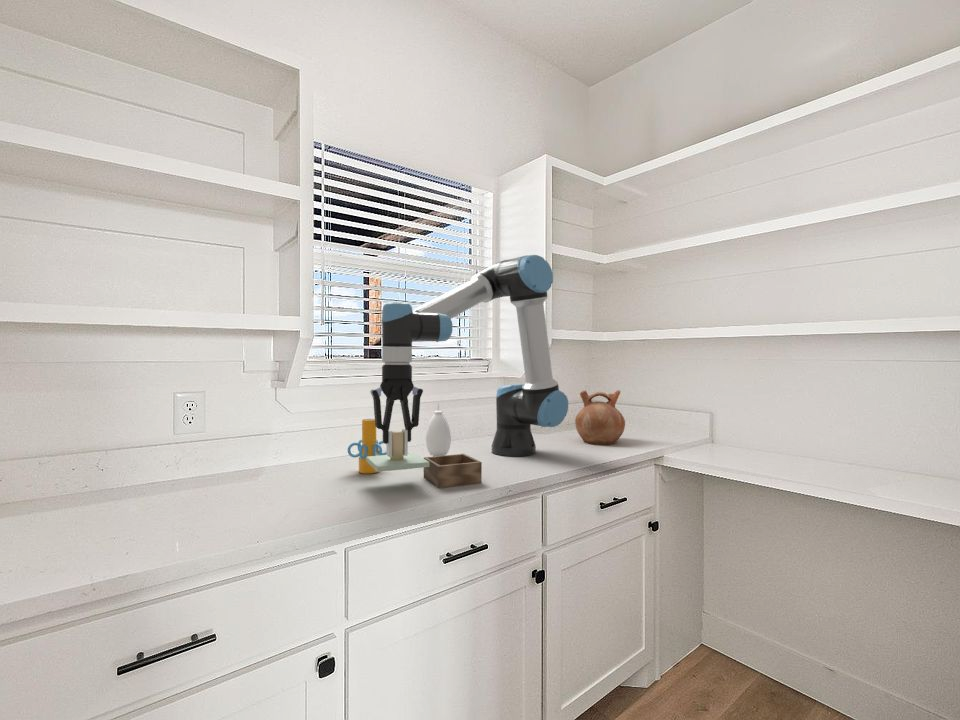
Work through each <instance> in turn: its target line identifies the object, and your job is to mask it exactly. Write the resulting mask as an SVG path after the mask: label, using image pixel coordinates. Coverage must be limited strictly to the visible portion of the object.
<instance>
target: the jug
mask: <svg viewBox="0 0 960 720" xmlns="http://www.w3.org/2000/svg"><path fill="white" fill-rule="evenodd" d="M620 394H621V390H619V389H617V390H616V391H615V392H614V393H608V394H607V393H606V392H602V391H596V392H594V393H592V394H590V395H589V394H588V392H587V390H581V392H580V393H579V395H580V398H581V400H582V403H583V407H582V408H581V409H580V411H579V412H578V413H577V415H576V417H575V421H574V423H575V429H576V431H577V433H578V435H579V436H580V438H581V439H582V441H583V442H584V443H585V444H589V445H597V446H610V445H614V444H616V443H617V442H618V440H619V439H620V438H621V437H622V435H623V434H624V431H625V427H626V420H625V418H624V416H623V414H622V412H620V410H618V408H617V407H616V404H617V401H618V399H619V397H620ZM599 396H600V397H602V398H605V399H607V401H605V402H604V401H593V399H594V398H596V397H599Z"/></svg>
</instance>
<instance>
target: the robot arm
mask: <svg viewBox="0 0 960 720" xmlns="http://www.w3.org/2000/svg"><path fill="white" fill-rule="evenodd" d="M553 283H554V274H553V270H552V268H551V265H550V263H549V262H548V261H547V260H546V259H545V258H544V257H543V256H540V255H538V254H530V255H522V256H519V257H515V258H510V259H504V260H501V261H498V262H496V263H494V264H493V265H490V266H489V267H487V268H485V269H483V270H482V271H479V272H478V273H476V274H475V275H473V276H472V277H471V279H470V281H468V282H466V283H464V284H462V285H460V286H458V287H456V288H454V289H452V290H450V291H448V292H445V293H444V294H442V295H440V296H438V297H436V298H434V299H432V300H431V301H428V302H427V303H424V304H422V305H420V306H418V307H417V308H415V309H413V306H412V304H411V303H408V302H407V303H406V302H389V303H388V302H387V303H385V304H384V305H383V307H382V311H381V313H382V314H381V327H382V329H381V332H382V334H381V335H382V336H381V337H382V339H381V340H382V341H381V345H382V346H381V347H382V353H381V360H382V362H383V363H384V364H383V365H382V367H381V383H380V385H379V387H377V388H375V389H371V390H370V394H371V397H372V401H373V413H374V415H373V416H374V419H375V427H376V429H378V430H381V431H382V441H383V444H384V445H385V444H386V448H385V449H386V451H385V452H386V455H387V456H388V457H392V430H391V429H390V426H391V420H392V415H393V408H394V404H395V402H396V401H399V403H400V407H401V413H402V419H403V424H404V428H401V431H403V432H404V456H408V453H409V451H408V447H409V446H408V445H409V444H408V443H410V442H411V441H412V430H413V429H414V428H415V427H416V428H418V426H419V425H420V424H419V421H420V410H421V409H420V408H421V397H422V395H423V393H424V390H423V389H422V388H418V387H416V386H414V385H415V384H414V383H413V366H412V364H410V363H412V362H413V345H412V344H413V342H415V343H416V342H422V343H423V342H437V343H439V342H447V341H448V340H449V339H450V338H451V337H452V335H453V325H454V324H453V322H452V319H453V318H454V317H457V316H458V315H461V314H463V313H464V312H466V311H468V310H470V309H471V308H473V307H475V306H477V305H478V304H481V303H489V302H491V301H493V300H495V299H498V298H499V299H500V298H504V297H509V301H510V304H512V305H513V306H514V307H515V309H516V314H517V323H518V332H519V337H520V338H519V339H520V346H521V356H522V361H523V370H524V377H525V382H524V383H523V384H522V383H521V384H511V385H509V384H508V385H501V386H499V387H498V388H497V390H496V397H495V399H496V402H495V403H496V404H495V405H496V407H495V408H496V430H495V434H494V436H493V441H492V443H491V453H492V454H494V455H498V456H503V457H504V456H505V457H509V456H510V457H523V456H524V457H525V456H526V457H527V456H531V455H534V454H536V451H537V450H536V449H537V448H536V447H537V446H536V443H535V440H534V436H533V434H532V429H531V426H532V425H533V426H539V427H541V428H555V427H557V426H559V425H560V424H562V423H563V421H564V420H565V418H566V417H567V415H568V411H569V399H568V396H567V395H566V394H565V392H563V391H561V390H560V388H559V386H560V385H559V382H558V381H557V380H556V379H554V377H553V371H552V362H551V353H550V347H549V339H548V337H549V336H548V331H547V330H548V329H547V321H546V314H545V306H544V303H545V302H546V300H547V299H548V291H549V290H550V289H551V288H552V284H553ZM411 392H412V395H413V397H412V406H411V407H412V408H411V409H412V410H411V414H410V408H409V399H408V397H409V395H410V394H411ZM382 393H383V395H384V396H385V397H386V400H385V408H384V415H383V420H382V407H381V402H382V401H381V398H380V397H382Z"/></svg>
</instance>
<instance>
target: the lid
mask: <svg viewBox="0 0 960 720" xmlns="http://www.w3.org/2000/svg"><path fill="white" fill-rule="evenodd" d="M391 431H392V430H391ZM366 462H368V463H369V464H370V465H371V466H372V467H373V468H374V469H375V470H376V471H377V473H379V472H381V473H382V472H390V471H402V470H411V469H424V467H429V462H428V461H427V460H425V459H424V457H422V456H420V455H418V454H417V453H415V452H408V456H404V432H403V431H402V430H393V431H392V457H388V456H387V455H380V456H368V457H366Z"/></svg>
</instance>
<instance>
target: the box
mask: <svg viewBox="0 0 960 720" xmlns="http://www.w3.org/2000/svg"><path fill="white" fill-rule="evenodd" d="M423 459H425V460H427V461H428V462H429V467H423V478H424V479H425V478H426V479H425V480H427V481H428V482H429V481H430V482H429V483H431V484H432V483H433V484H432V485H434V486H435V487H436V486H437V487H436V488H438V489H442V488H443V489H444V488H448V487H449V488H451V486H452V487H458V486H459V487H460V486H467V485H476V484H482V476H483V475H482V474H483V473H482V468H483V467H482V464H483V463H482V461H480V460H478V459H475V458H474V457H471V456H470V455H467V454H465V453H456V454H446V455H444V456H434V457H433V456H425V457H423Z"/></svg>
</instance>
